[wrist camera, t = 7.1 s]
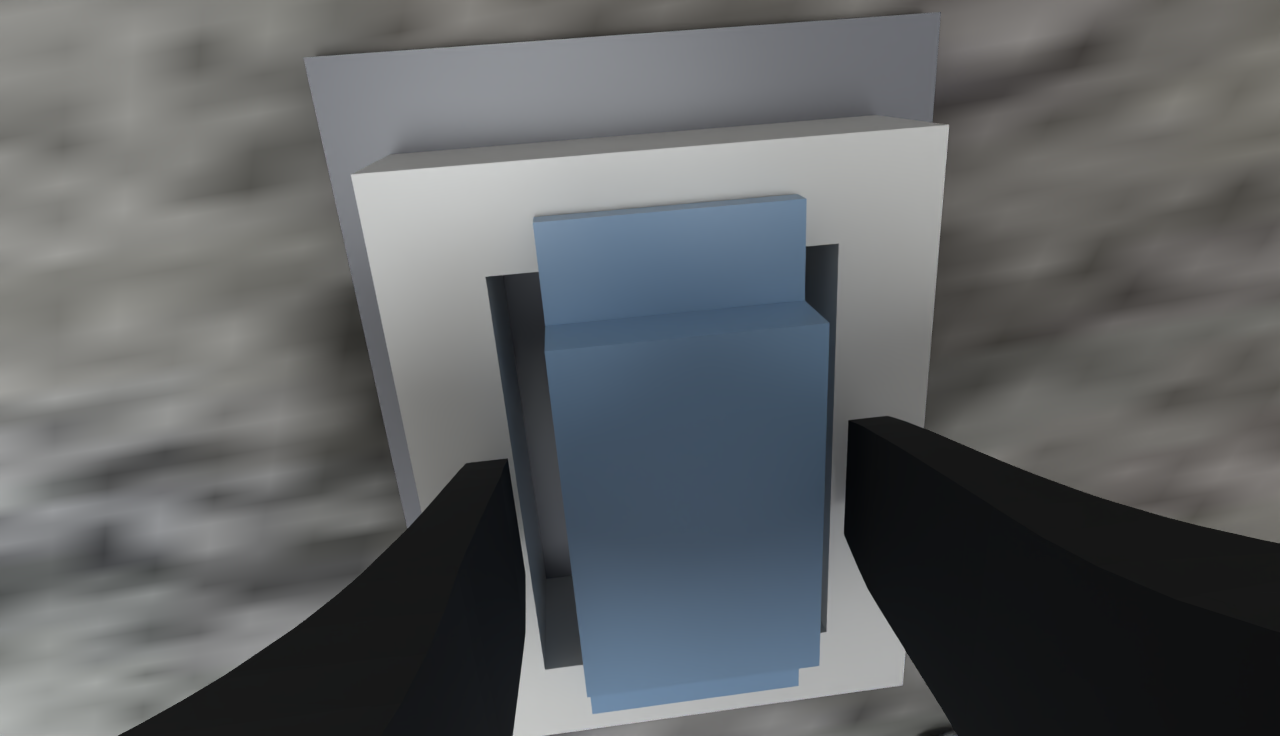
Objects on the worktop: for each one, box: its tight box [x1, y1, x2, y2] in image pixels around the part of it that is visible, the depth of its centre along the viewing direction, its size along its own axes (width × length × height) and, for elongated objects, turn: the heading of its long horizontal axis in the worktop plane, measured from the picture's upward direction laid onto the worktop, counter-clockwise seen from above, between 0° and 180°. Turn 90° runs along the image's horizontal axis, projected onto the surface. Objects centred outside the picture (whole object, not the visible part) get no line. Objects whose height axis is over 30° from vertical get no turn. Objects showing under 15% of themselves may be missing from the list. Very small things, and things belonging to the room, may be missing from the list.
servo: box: [533, 194, 830, 714], centre depth 12 cm, size 4×8×4 cm, turn 4°
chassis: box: [303, 12, 949, 736], centre depth 13 cm, size 10×13×3 cm
